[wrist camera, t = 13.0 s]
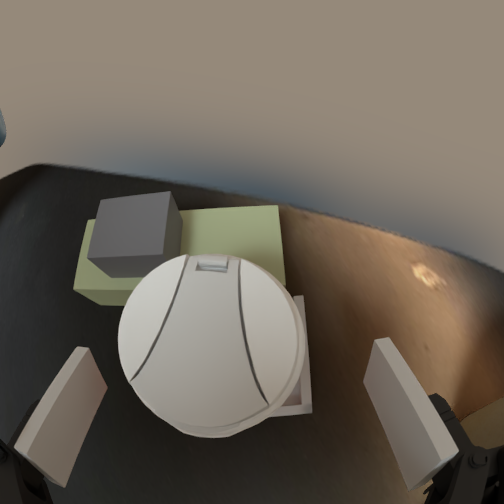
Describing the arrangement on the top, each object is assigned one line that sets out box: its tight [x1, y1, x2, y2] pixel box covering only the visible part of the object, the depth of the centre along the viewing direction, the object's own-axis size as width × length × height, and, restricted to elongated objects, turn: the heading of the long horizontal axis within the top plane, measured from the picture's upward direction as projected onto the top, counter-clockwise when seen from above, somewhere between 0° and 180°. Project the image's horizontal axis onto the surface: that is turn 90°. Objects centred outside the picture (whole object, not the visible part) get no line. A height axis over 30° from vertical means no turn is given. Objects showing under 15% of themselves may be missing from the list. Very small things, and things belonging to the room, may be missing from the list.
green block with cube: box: [73, 191, 312, 417], centre depth 20 cm, size 20×17×9 cm
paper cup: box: [118, 254, 305, 438], centre depth 16 cm, size 8×8×14 cm
